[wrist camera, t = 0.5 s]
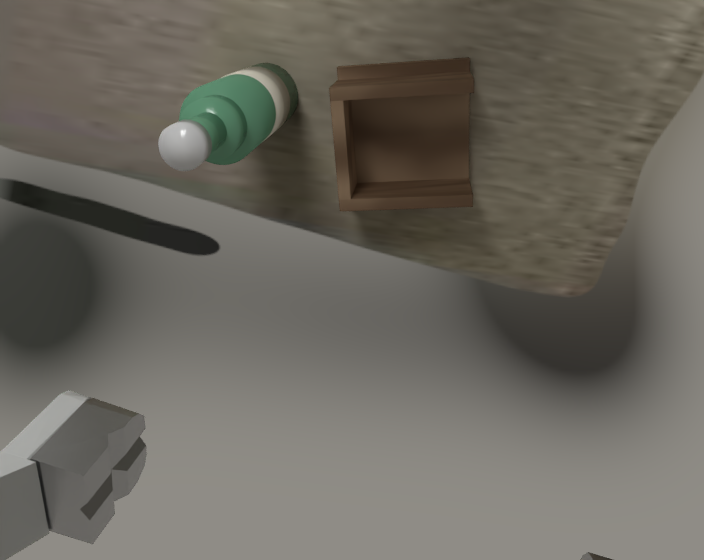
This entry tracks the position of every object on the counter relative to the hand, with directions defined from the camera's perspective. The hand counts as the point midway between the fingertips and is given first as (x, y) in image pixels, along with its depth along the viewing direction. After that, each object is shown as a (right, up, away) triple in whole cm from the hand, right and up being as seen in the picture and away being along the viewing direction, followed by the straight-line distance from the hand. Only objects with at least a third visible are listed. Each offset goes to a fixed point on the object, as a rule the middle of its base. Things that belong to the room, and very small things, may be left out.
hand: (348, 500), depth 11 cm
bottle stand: (+5, +17, +42) cm, 46 cm away
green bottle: (-7, +20, +42) cm, 48 cm away
